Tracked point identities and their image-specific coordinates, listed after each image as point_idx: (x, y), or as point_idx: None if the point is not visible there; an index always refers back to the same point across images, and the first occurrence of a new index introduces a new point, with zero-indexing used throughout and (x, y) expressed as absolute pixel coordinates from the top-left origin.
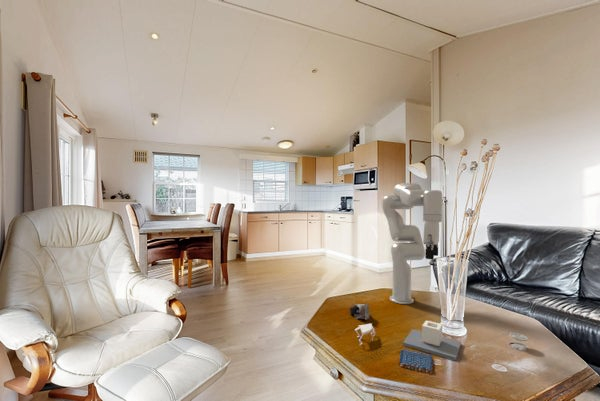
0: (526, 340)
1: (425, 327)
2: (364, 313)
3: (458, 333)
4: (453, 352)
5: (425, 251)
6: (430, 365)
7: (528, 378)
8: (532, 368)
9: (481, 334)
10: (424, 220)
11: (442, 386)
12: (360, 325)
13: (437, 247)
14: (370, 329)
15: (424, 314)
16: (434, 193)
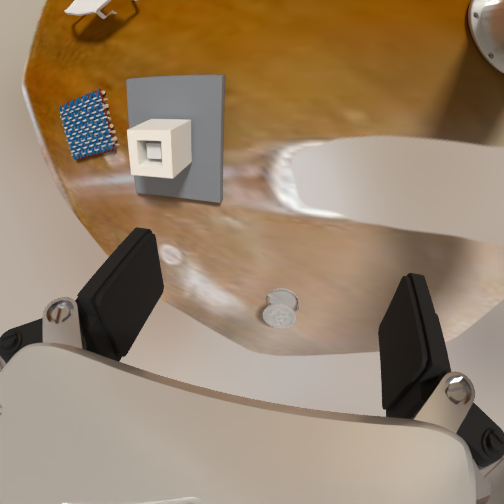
0: (270, 323)
1: (129, 138)
2: None
3: (292, 195)
4: (152, 187)
5: (92, 276)
6: (80, 155)
7: (166, 285)
8: (203, 298)
9: (317, 247)
10: None
11: (63, 176)
12: None
13: (391, 409)
14: (86, 12)
15: (407, 99)
16: None
